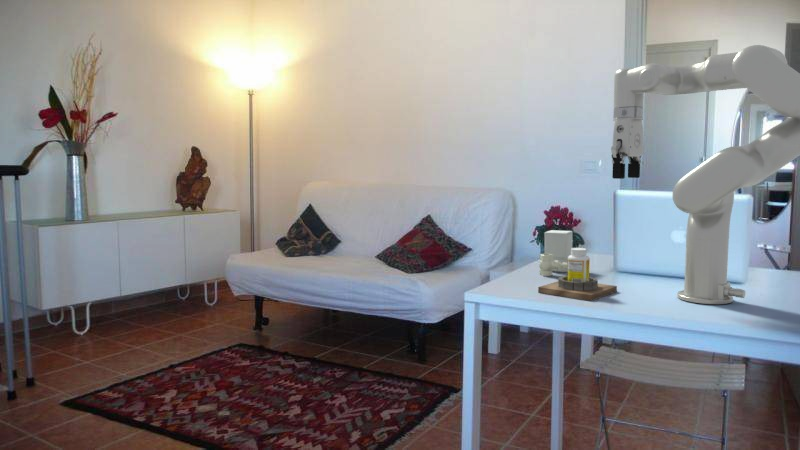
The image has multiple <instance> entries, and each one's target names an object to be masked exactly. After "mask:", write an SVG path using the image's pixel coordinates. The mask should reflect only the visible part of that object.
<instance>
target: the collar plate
mask: <svg viewBox="0 0 800 450" xmlns="http://www.w3.org/2000/svg"><path fill="white" fill-rule="evenodd" d="M537 288H538V289H537V291H538V292H537V293H539V294H545V295H552V296H559V297H563V298H569V299H570V298H571V299H577V300H584V301H589V302H591V301H594V300H597V299H600V298H602V297H605V296H608V295H611V294H614V293H616V292H618V291H617V290H618V289H617V288H618V286H616V285H611V284H607V283H606V284H605V283H598V279H597V278H596V277H592V276H589V282H571V281H568V275H564V276H559V277H558V281H554V282H551V283H547V284H544V285H541V286H538V287H537Z"/></svg>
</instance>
